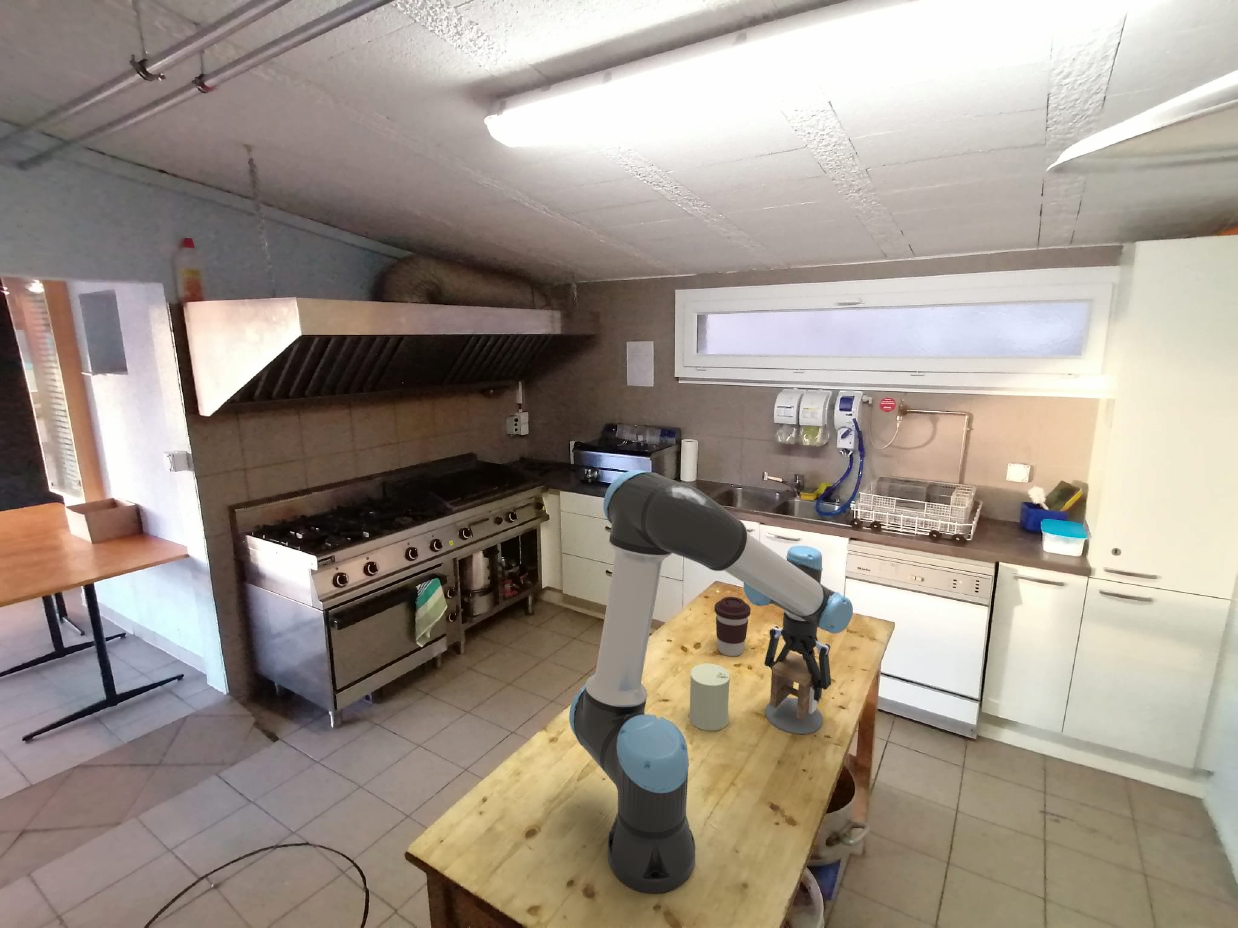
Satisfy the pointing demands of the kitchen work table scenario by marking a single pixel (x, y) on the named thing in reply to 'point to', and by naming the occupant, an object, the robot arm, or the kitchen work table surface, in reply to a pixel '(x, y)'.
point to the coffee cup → (731, 625)
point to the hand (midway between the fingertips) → (794, 702)
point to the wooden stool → (792, 683)
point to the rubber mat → (793, 718)
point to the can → (709, 696)
